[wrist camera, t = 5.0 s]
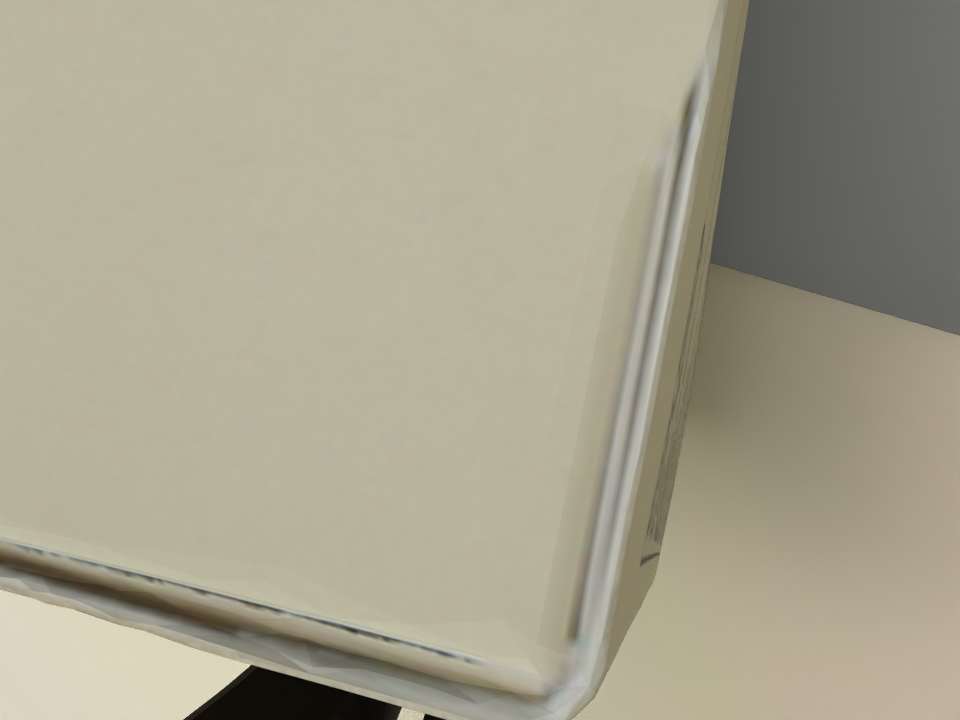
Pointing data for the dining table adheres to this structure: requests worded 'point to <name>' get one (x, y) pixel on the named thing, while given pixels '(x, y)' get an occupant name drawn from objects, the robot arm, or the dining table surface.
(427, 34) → the skincare box
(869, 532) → the dining table surface
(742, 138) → the mat
